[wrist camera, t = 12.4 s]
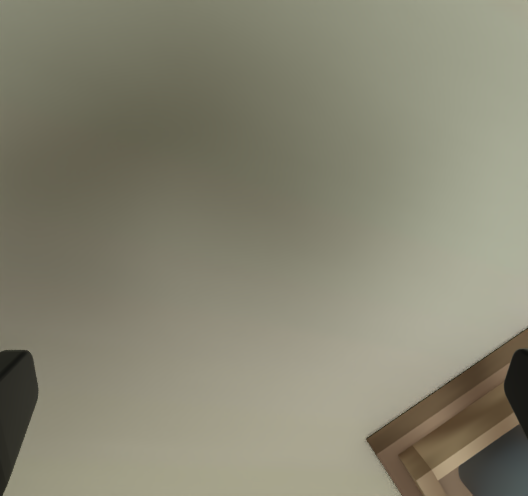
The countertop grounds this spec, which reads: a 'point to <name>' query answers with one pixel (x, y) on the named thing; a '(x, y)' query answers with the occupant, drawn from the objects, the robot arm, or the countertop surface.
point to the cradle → (449, 428)
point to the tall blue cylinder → (499, 467)
